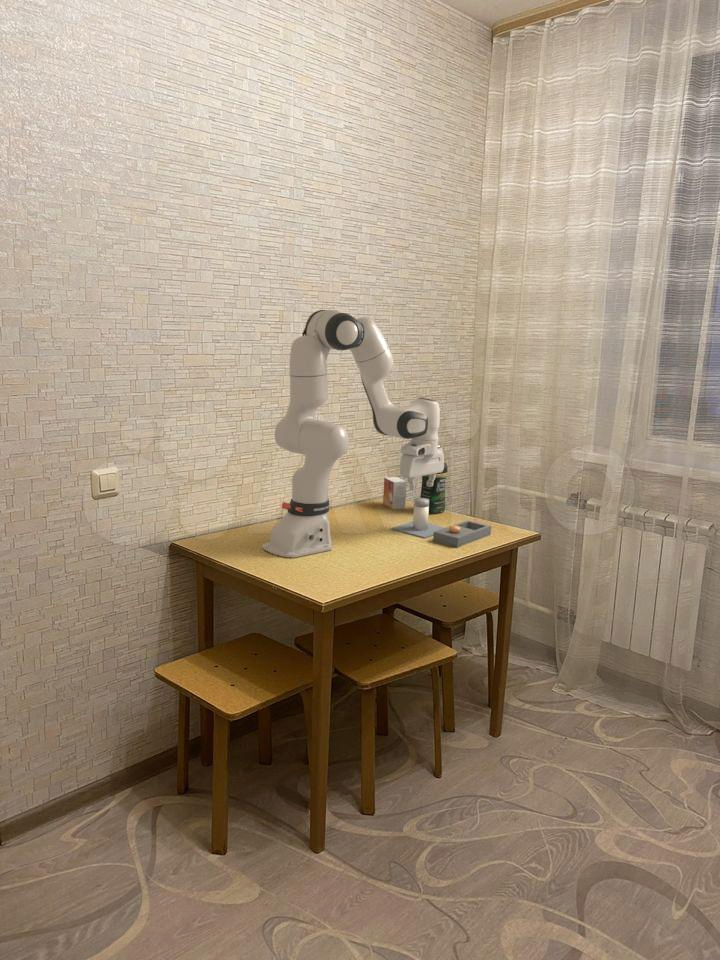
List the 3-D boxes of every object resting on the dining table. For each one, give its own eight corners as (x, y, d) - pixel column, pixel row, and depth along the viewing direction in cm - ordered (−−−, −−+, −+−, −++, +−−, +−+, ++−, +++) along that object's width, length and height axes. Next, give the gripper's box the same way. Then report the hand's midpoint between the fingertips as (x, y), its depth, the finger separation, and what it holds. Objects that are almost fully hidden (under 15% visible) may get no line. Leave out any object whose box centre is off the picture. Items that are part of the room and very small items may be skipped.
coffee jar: (431, 515, 268) (433, 465, 263) (415, 511, 273) (417, 461, 269) (449, 511, 274) (452, 462, 270) (433, 507, 280) (435, 458, 276)
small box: (382, 504, 281) (383, 477, 279) (395, 503, 284) (396, 476, 281) (392, 509, 274) (393, 482, 272) (405, 508, 277) (407, 481, 274)
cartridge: (421, 531, 247) (423, 502, 245) (409, 528, 250) (411, 499, 248) (430, 528, 251) (432, 499, 248) (418, 525, 254) (420, 497, 252)
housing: (457, 547, 233) (458, 538, 232) (433, 540, 239) (433, 531, 238) (490, 534, 247) (491, 526, 247) (466, 528, 253) (467, 520, 253)
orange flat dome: (456, 533, 236) (456, 529, 236) (446, 531, 239) (447, 526, 238) (462, 531, 239) (462, 527, 239) (453, 528, 241) (453, 524, 241)
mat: (424, 538, 241) (424, 537, 241) (391, 529, 250) (391, 528, 250) (449, 529, 251) (449, 528, 251) (416, 521, 260) (416, 520, 260)
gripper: (434, 443, 254) (431, 482, 257) (397, 448, 239) (395, 490, 241) (450, 446, 250) (446, 486, 253) (413, 451, 235) (410, 493, 237)
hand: (421, 488), depth 247 cm, fingers open, 8 cm apart
